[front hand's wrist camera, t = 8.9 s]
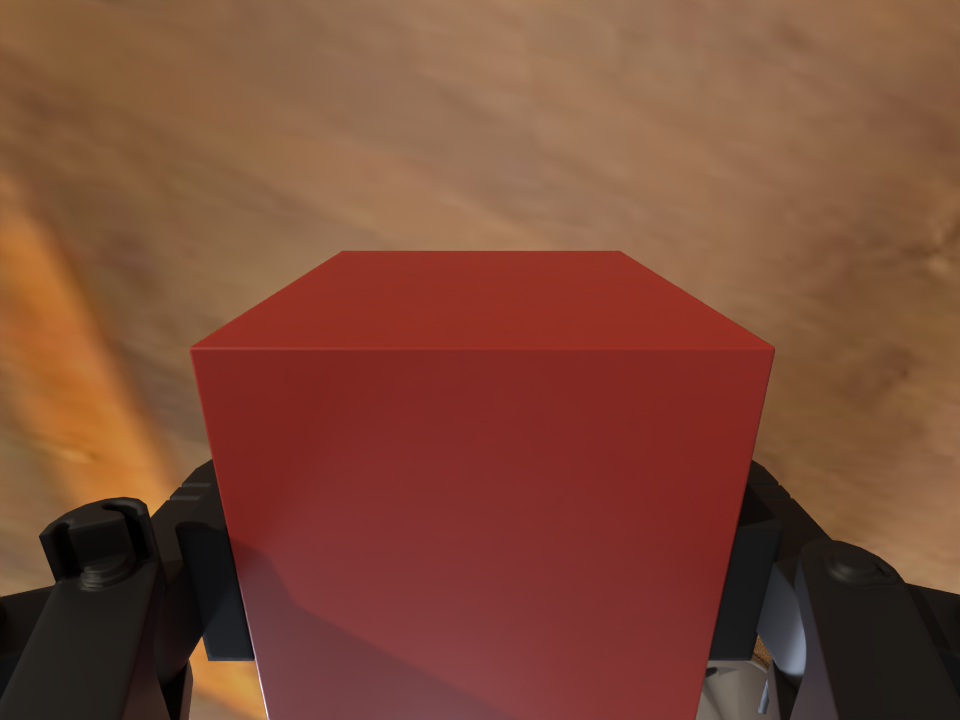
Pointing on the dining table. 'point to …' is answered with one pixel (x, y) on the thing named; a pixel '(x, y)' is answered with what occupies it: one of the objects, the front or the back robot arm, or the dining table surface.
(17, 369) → the dining table surface
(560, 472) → the cube
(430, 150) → the dining table surface
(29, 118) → the dining table surface
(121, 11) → the dining table surface
